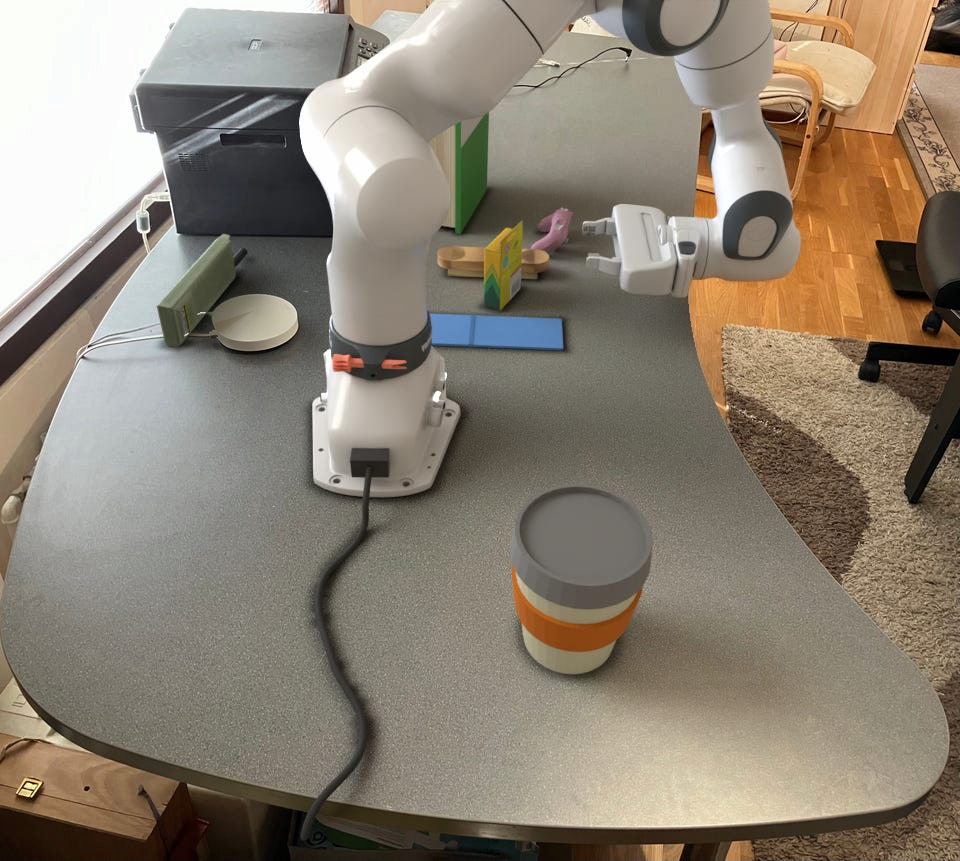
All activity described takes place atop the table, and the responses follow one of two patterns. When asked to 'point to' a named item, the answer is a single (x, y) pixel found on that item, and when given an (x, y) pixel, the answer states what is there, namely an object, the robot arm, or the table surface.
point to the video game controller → (554, 230)
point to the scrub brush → (472, 261)
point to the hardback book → (463, 167)
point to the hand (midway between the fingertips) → (584, 244)
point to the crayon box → (503, 267)
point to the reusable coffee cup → (577, 573)
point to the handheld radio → (198, 290)
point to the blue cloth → (497, 331)
